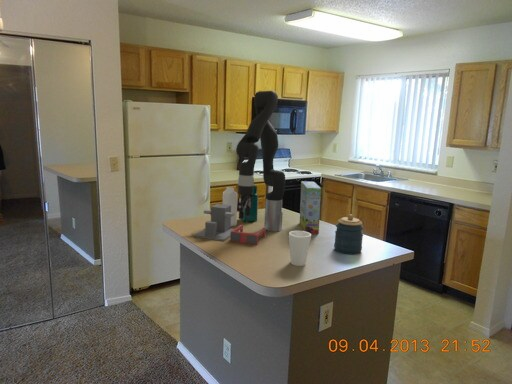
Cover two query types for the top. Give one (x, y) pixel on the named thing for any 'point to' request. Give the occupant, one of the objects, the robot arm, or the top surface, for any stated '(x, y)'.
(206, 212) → the stand
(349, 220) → the lidded canister
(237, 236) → the red c-shaped frame
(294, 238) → the foam cup
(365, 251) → the top surface
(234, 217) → the milk
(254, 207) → the teal bottle
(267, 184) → the robot arm
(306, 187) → the snack box
